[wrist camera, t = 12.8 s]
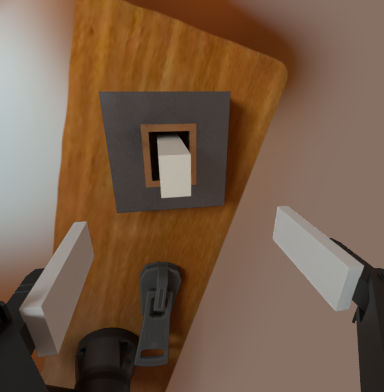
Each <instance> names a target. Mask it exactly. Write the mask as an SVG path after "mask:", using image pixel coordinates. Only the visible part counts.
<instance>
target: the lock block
mask: <svg viewBox="0 0 384 392" xmlns="http://www.w3.org/2000/svg"><path fill="white" fill-rule="evenodd" d="M230 93H231V92H99V96H100V102H101V109H102V115H103V122H104V129H105V135H106V142H107V148H108V155H109V162H110V168H111V175H112V181H113V188H114V195H115V201H116V208H117V213H124V212H138V211H152V210H166V209H179V208H193V207H207V206H221V205H224V199H225V182H226V164H227V146H228V128H229V110H230ZM163 131H184V132H185V146H186V148H187V149H188V151H189V152H190V154H191V196H185V197H169V198H161V187H160V174H159V169H156V170H152V159H151V146H150V133H149V132H163Z"/></svg>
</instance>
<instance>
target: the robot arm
mask: <svg viewBox="0 0 384 392" xmlns="http://www.w3.org/2000/svg"><path fill="white" fill-rule="evenodd" d="M273 240H274V241H275V242H276V243H277V244H278V246H279V247H280V248H281V249H282V250H283V251H284V252H285V253H286V255H287V256H288V257H289V258H290V259H291V261H292V262H293V263H294V264H295V265H296V266H297V268H298V269H299V270H300V271H301V272H302V273H303V274H304V276H306V278H307V279H308V280H309V281H310V283H311V284H312V285H313V286H314V287H315V288H316V289H317V291H318V292H319V293H320V294H321V295H322V296H323V297H324V299H325V300H326V301H327V302H328V303H329V304H330V306H331V307H332V308H333V309H334V310H335V311H339V310H346V309H349V307H350V304H351V301H352V300H353V301H354V302H355V303H356V304H357V305H358V307H357V309H356V312H355V315H354V318H353V321H352V322H353V323H355V321H356V320H357V335H358V351H359V366H360V367H359V368H360V383H361V392H384V269H381V268H373V267H372V266H371V265H369V264H368V263H367V262H366V261H364V260H363V259H361V258H360V257H359V256H358V255H356V254H354V253H353V252H352V251H351V250H350V249H348V248H347V247H346V246H344V245H343V244H342V243H340V242H338V241H336V240H334V239H332V238H328V237H327V236H325V235H324V234H323V233H322V232H320V231H319V230H318V229H316V228H315V227H314V226H313V225H311V224H310V223H309V222H307V221H306V220H305V219H304V218H302V217H301V216H300V215H299V214H297V213H296V212H295V211H293V210H292V209H291V208H290V207H288V206H279V207H277V214H276V221H275V227H274V234H273ZM93 259H94V253H93V248H92V244H91V239H90V234H89V229H88V225H87V222H74V224H73V225H72V227H71V228H70V230H69V231H68V233H67V235H66V236H65V238H64V239H63V241H62V242H61V244H60V246H59V247H58V249H57V250H56V252H55V253H54V255H53V257H52V258H51V260H50V261H49V263H48V264H47V266H46V268H42V269H35V270H34V271H33V272H31V273H30V274H29V275H27V276H26V277H25V279H24V280H23V281H22V283H21V284H20V287H18V288H17V290H16V291H15V294H13V295H12V297H11V298H10V300H9V301H8V302H7V304H5V303H4V302H3V301H0V392H130V383H131V380H132V377H133V374H134V371H135V369H136V366H137V365H135V364H134V362H135V357H136V352H137V347H138V343H139V340H138V338H137V337H136V336H135V335H134V334H132V333H131V332H129V331H126V330H123V329H118V328H106V329H100V330H97V331H94V332H92V333H90V334H88V335H87V336H85V337H84V338H83V339H82V340H81V341H80V343H79V345H78V348H77V351H76V355H75V378H76V384H75V388H74V389H69V388H64V387H58V386H52V385H46V384H45V383H44V381H43V379H42V377H41V375H40V373H39V371H38V369H37V367H36V365H35V363H34V361H33V359H32V357H31V355H32V353H33V351H34V349H35V350H36V352H37V354H38V357H42V356H49V355H55V354H58V353H59V350H60V348H61V345H62V342H63V339H64V337H65V334H66V331H67V329H68V326H69V323H70V321H71V318H72V315H73V313H74V310H75V307H76V304H77V302H78V299H79V296H80V294H81V291H82V288H83V286H84V283H85V280H86V277H87V275H88V272H89V269H90V267H91V264H92V261H93Z"/></svg>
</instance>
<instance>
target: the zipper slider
mask: <svg viewBox="0 0 384 392" xmlns="http://www.w3.org/2000/svg"><path fill="white" fill-rule="evenodd" d="M180 284H181V274H180V271H179V268H178V266H177V265H174V264H171V263H168V262H155V263H151V264H147V265H146V266H145V267H144V269H143V270H142V272H141V273H140V292H141V314H142V315H143V316H144V318H143V323H142V328H141V333H140V338H139V343H138V347H137V352H136V357H135V362H134V364H135V365H137V366H159V365H163V364H167V363H168V355H169V330H170V314H171V311H172V308H173V305H174V302H175V299H176V296H177V293H178V290H179V287H180ZM145 349H164V354H163V355H159V356H141V351H142V350H145Z"/></svg>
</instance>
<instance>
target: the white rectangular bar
mask: <svg viewBox="0 0 384 392" xmlns="http://www.w3.org/2000/svg"><path fill="white" fill-rule="evenodd" d="M157 146H158V161H159V174H160V187H161V198H169V197H185V196H191V154H190V152H189V151H188V149H187V148H186V146H185V145H184V143H183V142H182V140H181V139H180V137H179V136H178V134H157Z"/></svg>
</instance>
